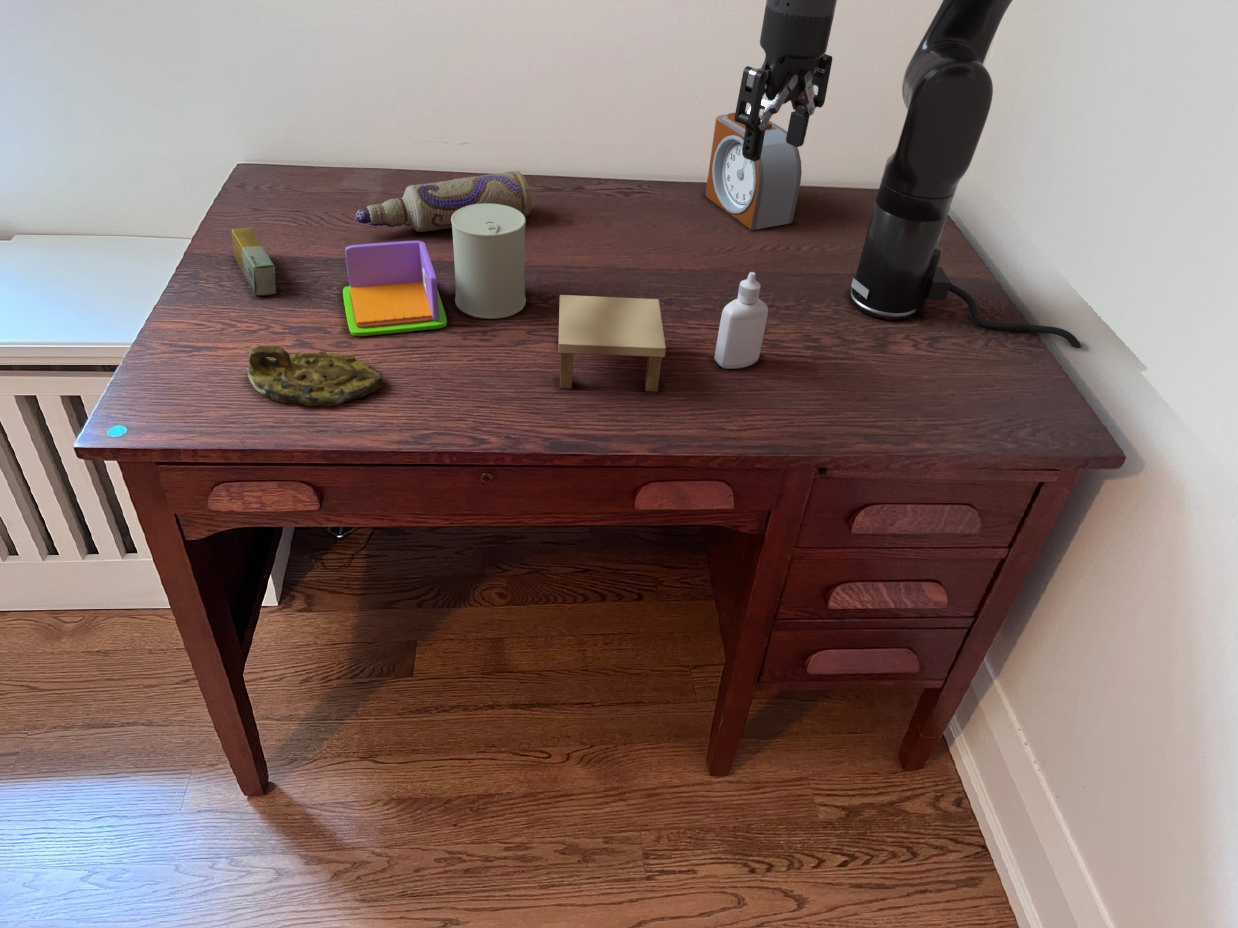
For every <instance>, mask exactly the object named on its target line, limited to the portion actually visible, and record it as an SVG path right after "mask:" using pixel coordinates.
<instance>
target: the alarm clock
mask: <svg viewBox="0 0 1238 928" xmlns="http://www.w3.org/2000/svg"><path fill="white" fill-rule="evenodd" d="M747 112H748V110H745V113H747ZM734 117H735V112H729V113H727V114H720V115H718V116H717V117H716V118H715V123H714V130H713V137H712V145H711V151H710V159H709V167H708V174H707V182H706V187H705V197H706V198H707V199H709V200H710V201H711V202H712V203H714V204H715V205H717V207H719V208H721V209H722V210H724V212H726V213H727V214H729V215H730V216H732V217H733V218H734V219H736V220H737V221H738V222H740V223H741V224H742V225H744V226H745V227H746V228H748V229H749V230H750V231H755V230H761V229H766V228H771V227H772V228H773V227H778V226H782V225H788V224H792V223H793V220H794V216H795V211H796V207H797V201H798V197H799V192H800V188H801V183H802V181H801V180H802V173H803V172H802V160H801V155H800V151H799V147H795V146H793V145H790V144H788V143H787V142H786V137H787V131H788V130H785V128H783V127H782V126H779V125H778V124H776V123H774V122H773V121H771V120H769V122H768V123H767V125H766V127H765V135H764V141H763V147H762V152H761V158H760V159H759V160H757V161H751V160H749V159H746V158H744V157H743V154H742V148H743V142H744V136H745V130H746V127H745V125H744V124H741V123H739V122H736V121H735V119H734ZM760 117H761V115H760V114H759V118H760Z"/></svg>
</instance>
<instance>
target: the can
mask: <svg viewBox="0 0 1238 928" xmlns="http://www.w3.org/2000/svg"><path fill="white" fill-rule="evenodd" d="M451 222H452V228H451V229H452V231H451V232H452V244H453V261H454V262H453V265H454V281H455V283H454V285H455V296H454V303H455V306H456V307H457V309H458V310H460V311H461V312H462V313H463V314H466V315H468V316H470V317H474V318H478V319H486V320H497V319H498V320H499V319H504V318H509V317H511V316H514V315H516V314H518V313H520V312H521V311H522V310H523V309H524V307H526V302H527V298H526V297H527V296H526V283H525V281H526V280H525V278H526V277H525V272H526V271H525V270H526V269H525V265H526V264H525V262H526V261H525V258H526V254H525V253H526V252H525V251H526V250H525V249H526V247H525V246H526V245H525V244H526V222H527V219H526V217H525V216H524V215H523V214H522V213H521V212H520V211H518V210H516V209H514V208H512V207H509V206H505V205H500V204H491V203H482V204H474V205H469V206H465V207H463V208H460V209H458V210H457V211H455V212H454V213H453V215H452V217H451Z"/></svg>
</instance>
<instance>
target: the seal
mask: <svg viewBox="0 0 1238 928" xmlns="http://www.w3.org/2000/svg"><path fill="white" fill-rule="evenodd" d="M270 358H272V359H270ZM248 364H249V365H247V369H246V370H247V371H246V372H247V373H246V374H247V377H248V380H249V383H250V385H251V386H252V387H253V389H254V390H255V391H256V392H257V393H259V394H260V395H261V396H263V397H265V398H266V399H269V400H271V401H273V402H278V403H282V404H300V405H305V406H308V407H315V406H319V407H320V406H328V407H329V406H337V405H341V404H343V403H347V402H348V401H349V402H350V401H353V400H356V399H359V398H362V397H366V396H367V395H369V394H371V393H375V392H376V391H378V390H379V389H380V388H381V387H382V386H383V384H384V379H383V377H382V375H381V374H380V373H379V372H378V371H376V369H374V368H373V366H371V365H369V364H368V363H367V362H365V361H363V360H361V359H360V358H357V357H355V356H353V355H349V354H348V355H346V354H338V353H332V352H326V351H319V352H300V351H298V352H296V353H291V354H289V353H288V352H287V350H285V349H284V348H283V347H281V346H278V345H256V346H253V347H252V348H250V351H249V354H248Z"/></svg>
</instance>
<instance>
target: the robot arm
mask: <svg viewBox="0 0 1238 928" xmlns="http://www.w3.org/2000/svg"><path fill="white" fill-rule="evenodd" d="M1013 1H1014V0H942V1H941V4H940V6H939V7H938V9H937V11H936V12H935V15H934V16H933V19H932V20H931V22H930V24H929V25H928V27H927V29H926V31H925V33H924V35H923V37H922V39H921V40H920V42H919V44H918V45H917V48H916V49H915V51H914V54H912V57H911V59H910V61H909V62H908V64H907V67H906V69H905V72H904V74H903V78H902V83H901V84H902V85H901V93H902V94H901V95H902V100H903V103H904V105H905V108H906V110H907V111H906V115H905V118H904V122H903V126H902V129H901V133H900V136H899V139H898V142H897V146H896V148H895V151H894V152H893V153H891V154H890V155H889V156H888V158H887V159H886V162H885V164H884V168H883V173H882V177H881V180H880V183H879V188H878V191H877V193H876V198H875V203H874V206H873V209H872V213H871V217H870V221H869V224H868V227H867V232H866V235H865V240H864V242H863V246H862V251H861V254H860V257H859V262H858V265H857V269H856V273H855V276H854V277H853V278H852V281H851V284H850V287H851V288H850V291H849V297H848V299H849V301H850V303H851V304H852V306H853V307H854V308H856V309H857V310H858V311H860V312H861V313H863V314H865V315H868V316H870V317H873V318H876V319H881V320H887V321H902V320H907V319H910V318H913V317H914V316H917V317H918V316H919V317H921V316H922V315H923V311H924V308H925V306H926V302H927V300H928V301H929V300H930V301H946V300H947V297H948V295H949V292H950V293H952V294H954V295H956V296H958V297H959V298H960V299H962V300H963V301H964V302H965V303H966V304H967V306H968V309H969V313H970V317H971V319H972V321H973V322H974V323H976V324H977V325H979V326H980V327H983V328H987V329H998V330H1005V331H1006V330H1007V331H1023V332H1024V331H1025V332H1031V333H1039V334H1047V335H1049V334H1050V335H1055V336H1059V337H1061V338H1064V339H1065V340H1066V341H1067V342H1068V343H1069V344H1070V346H1072V347H1073V348H1076V349H1081V348H1082V346H1081V343H1080V341H1079V340H1078V338H1077V337H1076V336H1075V335H1074V334H1073V333H1071V332H1070V331H1068V330H1066V329H1064V328H1060V327H1055V326H1049V325H1048V326H1047V325H1038V324H1031V323H1022V322H1008V321H1007V322H1005V321H995V320H988V319H985V318H983V317H982V316H981V315H980V314H979V310H978V305H977V302H976V301H975V299H974V298H973V297H972V295H970V294H969V293H968V292H967V291H965V290H964V289H962V288H961V287H958V286H956V285H954V284H952V280H950V278H949V277H948V275H947V273H946V272H945V271H944V269H943V268H942V266H939V263H940V260H941V257H942V250H941V248H940V247H939V243H940V240H941V237H942V234H943V230H944V228H945V225H946V223H947V219H948V215H949V212H950V209H951V206H952V203H953V200H954V197H955V194H956V192H957V189H958V186H959V183H960V181H961V179H962V178H963V177H964V176H965V174H966V173H967V171H968V170H969V168H970V165H971V163H972V160H973V158H974V156H975V152H976V150H977V147H978V145H979V141H980V139H981V136H982V134H983V130H984V128H985V125H986V123H987V119H988V118H989V117H988V116H989V113H990V109H991V106H992V102H993V97H994V96H993V95H994V84H993V81H992V80H993V79H992V77H991V75H990V72H989V70H988V69H987V68H986V67H985V66H984V63H985V60H986V58H987V55H988V52H989V49H990V47H991V45H992V42H993V41H994V37H995V35H996V33H997V31H998V29H999V26H1000V24H1001V22H1002V20H1003V18H1004V16H1005V14H1006V12H1007V10H1008V9H1009V7H1010V5H1011V4H1012V2H1013ZM837 3H838V0H766V2H765V7H764V13H763V19H762V25H761V32H760V37H759V46H760V47H761V49H762V50H763V51H764V54H765V57H764V61H763V63H762V64H761V67H760V68H755V67H752V66H749V65H747V66H745V67H744V68H743V72H742V75H741V81H740V86H739V92H738V97H737V102H736V107H735V111H734V113H735V117H734V119H735V121H736V122H739V123H741V124H744V125H745V127H746V130H745V136H744V142H743V148H742V154H743V157H744V158H746V159H749V160H751V161H757V160H759V159H760V158H761V152H762V147H763V141H764V135H765V127H766V125H767V123H768V122H769V121H771V118H772V116H773V115H775V114H777V113H779V111H780V109H781V107H782V106H783V105H786V104H787V103H789V102H790V103H791V107H792V110H794V111H791V112H790V117H789V122H788V125H787V126H788V127H787V130H786V131H787V137H786V142H787V143H788V144H790V145H793V146H795V147H797V148H800V147H803V145H804V143H805V139H806V135H807V131H808V126H809V120H810V116H812V115H814V113H815V110H816V108H819V109H821V108H822V107H823V106H824V105H825V101H826V98H827V97H826V96H827V91H828V86H829V85H828V84H829V81H830V76H831V69H832V64H833V56H832V55H830V54H827V53H826V52H827V50H828V45H829V40H830V36H831V31H832V26H833V22H834V17H835V13H836V8H837ZM814 86H816V87H817V94H816V93H815V90H814ZM764 95H765V97H766V99H765V98H763V97H764ZM748 104H749V105H750V106H749V108H748V110H746V109H747V105H748ZM761 110H763V112H762V114H761V115H760V112H761ZM745 111H748V112H747V113H745ZM759 115H760V116H761V117H760V118H759Z"/></svg>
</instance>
